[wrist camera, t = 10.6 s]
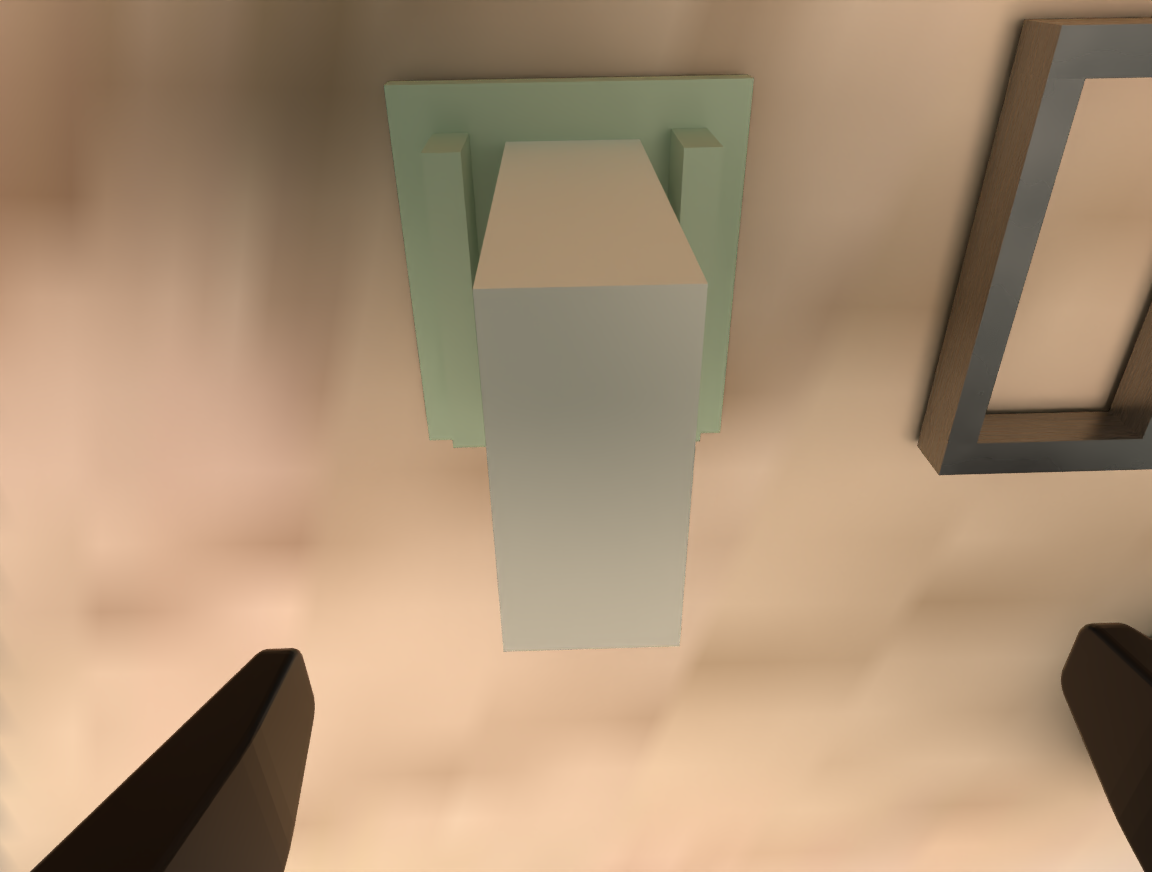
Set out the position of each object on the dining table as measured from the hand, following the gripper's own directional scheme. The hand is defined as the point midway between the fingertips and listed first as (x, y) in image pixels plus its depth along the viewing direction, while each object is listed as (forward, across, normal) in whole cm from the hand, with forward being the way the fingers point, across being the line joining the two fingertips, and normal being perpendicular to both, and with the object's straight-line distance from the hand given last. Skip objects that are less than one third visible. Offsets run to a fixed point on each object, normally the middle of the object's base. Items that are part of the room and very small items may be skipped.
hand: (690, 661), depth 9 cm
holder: (+13, +1, 0) cm, 13 cm away
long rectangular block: (+12, +1, 0) cm, 12 cm away
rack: (+13, -12, 0) cm, 17 cm away
